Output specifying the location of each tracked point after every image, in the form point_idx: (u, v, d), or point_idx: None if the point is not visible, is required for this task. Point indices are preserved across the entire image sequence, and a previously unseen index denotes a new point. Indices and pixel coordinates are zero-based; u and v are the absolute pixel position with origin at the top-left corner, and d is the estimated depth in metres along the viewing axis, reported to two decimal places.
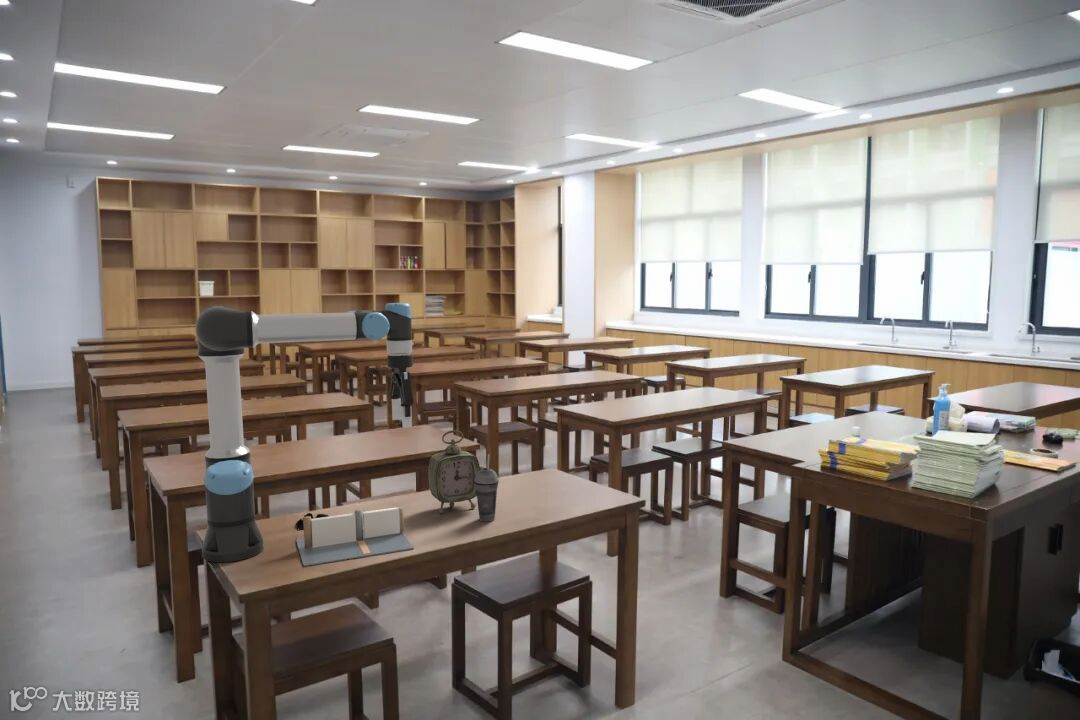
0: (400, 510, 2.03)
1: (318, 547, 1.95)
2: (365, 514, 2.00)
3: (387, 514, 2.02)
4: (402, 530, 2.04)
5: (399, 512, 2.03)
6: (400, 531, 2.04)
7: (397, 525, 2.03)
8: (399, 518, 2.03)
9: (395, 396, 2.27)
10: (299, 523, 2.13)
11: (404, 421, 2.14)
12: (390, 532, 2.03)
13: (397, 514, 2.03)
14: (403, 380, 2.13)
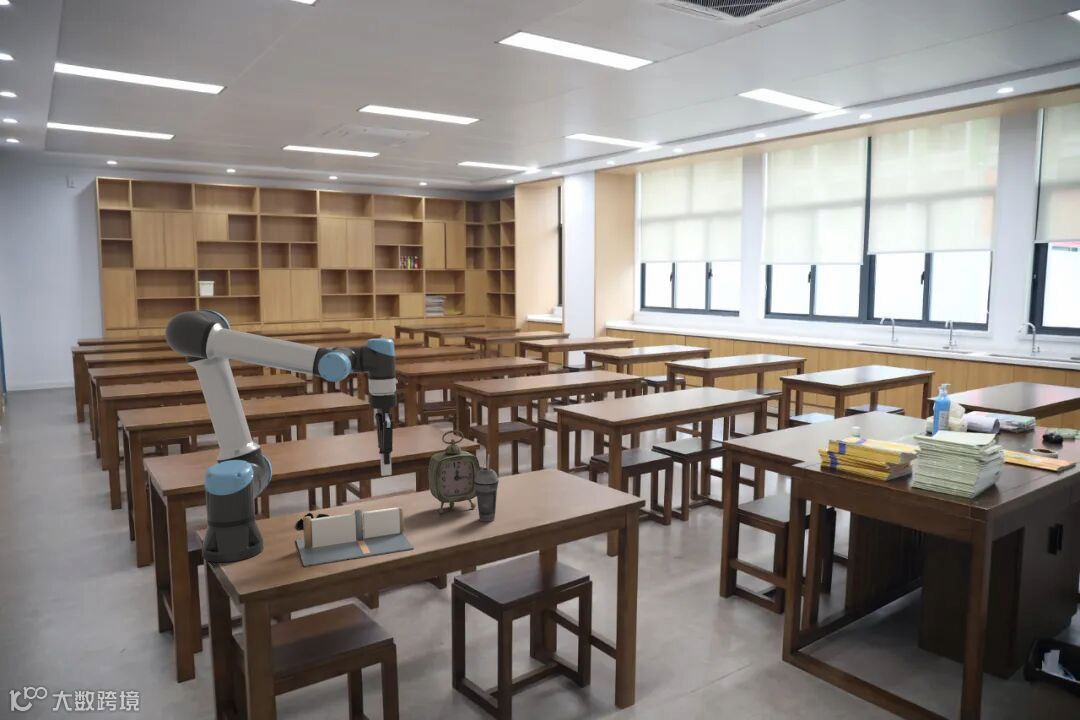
0: (400, 510, 2.03)
1: (318, 547, 1.95)
2: (365, 514, 2.00)
3: (387, 514, 2.02)
4: (402, 530, 2.04)
5: (399, 512, 2.03)
6: (400, 531, 2.04)
7: (397, 525, 2.03)
8: (399, 518, 2.03)
9: None
10: (299, 523, 2.13)
11: (383, 469, 2.07)
12: (390, 532, 2.03)
13: (397, 514, 2.03)
14: (385, 429, 2.01)
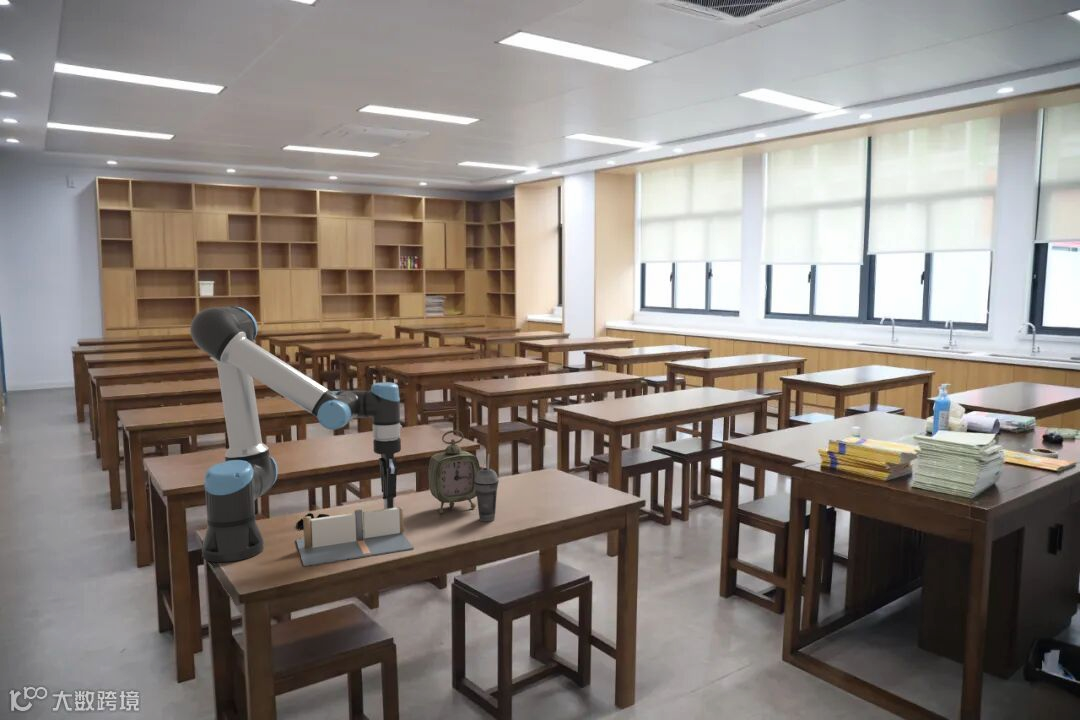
0: (400, 510, 2.03)
1: (318, 547, 1.95)
2: (365, 514, 2.00)
3: (387, 514, 2.02)
4: (402, 530, 2.04)
5: (399, 512, 2.03)
6: (400, 531, 2.04)
7: (397, 525, 2.03)
8: (399, 518, 2.03)
9: None
10: (300, 523, 2.13)
11: None
12: (390, 532, 2.03)
13: (397, 514, 2.03)
14: (389, 475, 1.99)
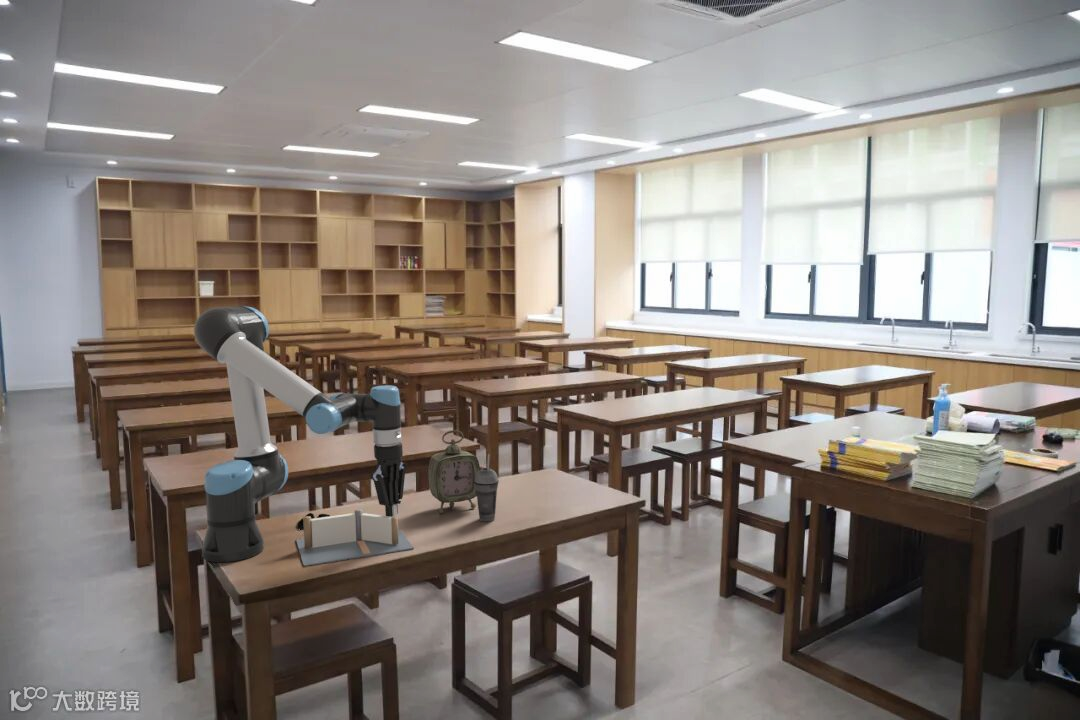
0: (392, 521, 1.95)
1: (318, 547, 1.95)
2: (362, 516, 1.98)
3: (380, 521, 1.96)
4: (394, 542, 1.95)
5: (391, 522, 1.95)
6: (392, 542, 1.95)
7: (389, 535, 1.95)
8: (391, 529, 1.95)
9: (392, 499, 1.99)
10: (300, 523, 2.13)
11: None
12: (383, 540, 1.96)
13: (389, 524, 1.95)
14: (375, 481, 1.93)
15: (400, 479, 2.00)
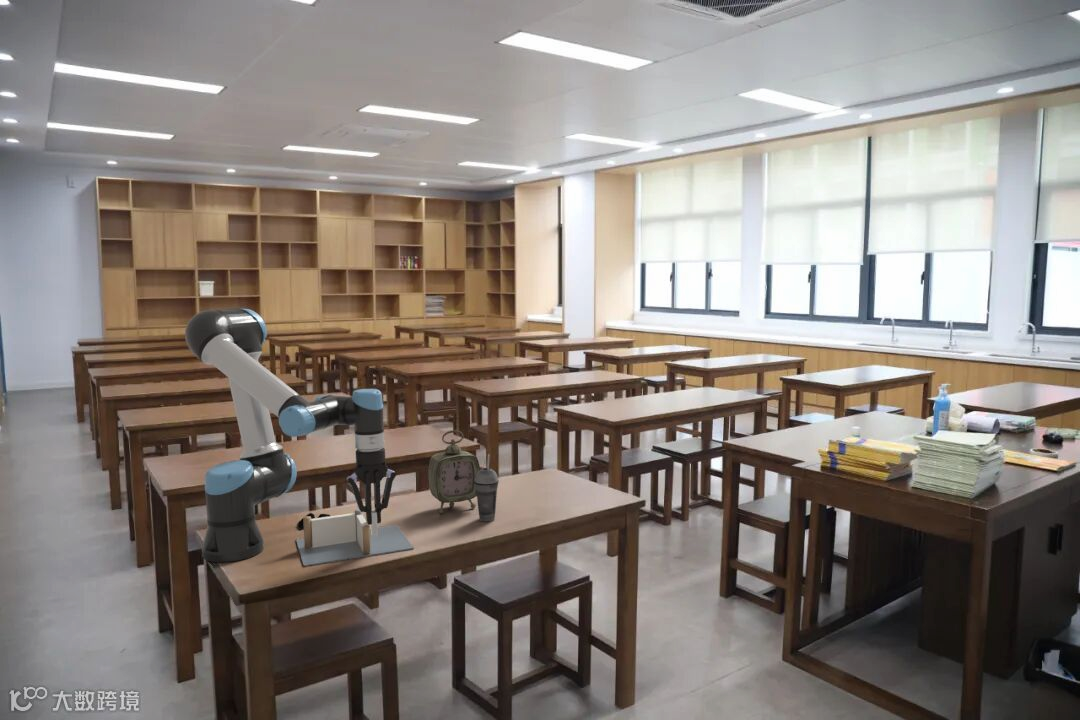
0: (362, 528, 1.89)
1: (318, 547, 1.95)
2: (356, 516, 1.98)
3: (360, 526, 1.92)
4: (364, 550, 1.89)
5: (362, 530, 1.89)
6: (363, 550, 1.90)
7: (362, 542, 1.90)
8: (362, 536, 1.89)
9: (376, 506, 1.92)
10: (300, 523, 2.13)
11: (371, 527, 1.93)
12: (361, 546, 1.92)
13: (362, 531, 1.90)
14: None
15: (386, 488, 1.92)
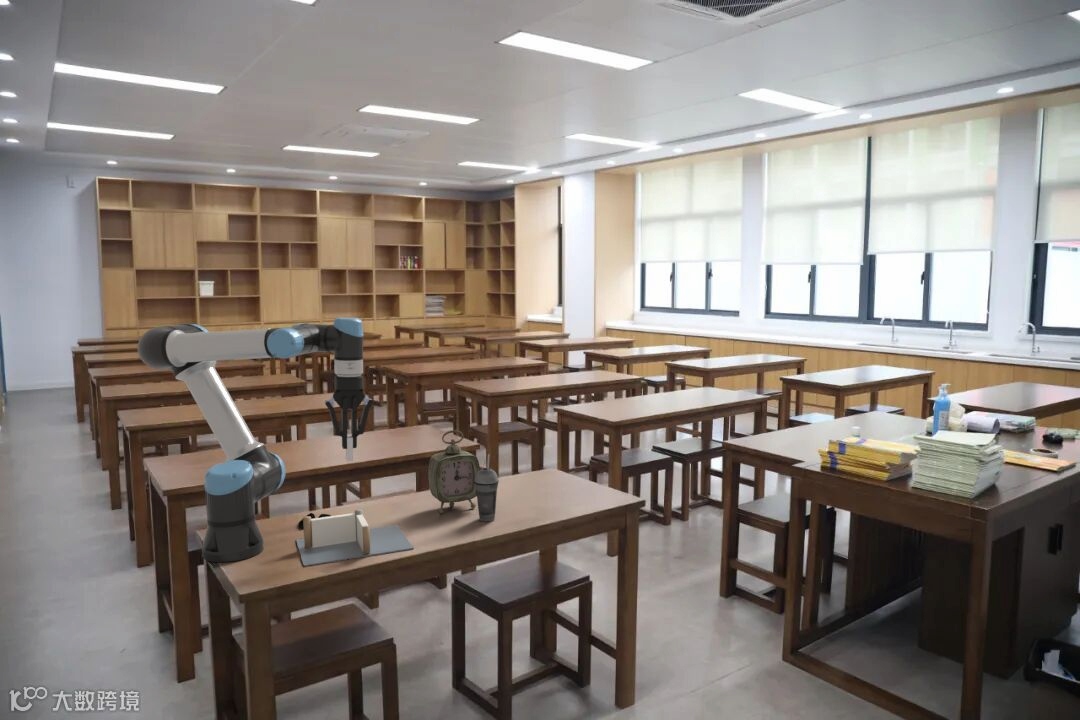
0: (362, 528, 1.89)
1: (318, 547, 1.95)
2: (356, 516, 1.98)
3: (360, 526, 1.92)
4: (363, 550, 1.89)
5: (362, 530, 1.89)
6: (363, 550, 1.90)
7: (362, 542, 1.90)
8: (362, 536, 1.89)
9: None
10: (301, 523, 2.13)
11: (346, 452, 2.00)
12: (361, 546, 1.92)
13: (362, 531, 1.90)
14: None
15: (363, 414, 1.99)
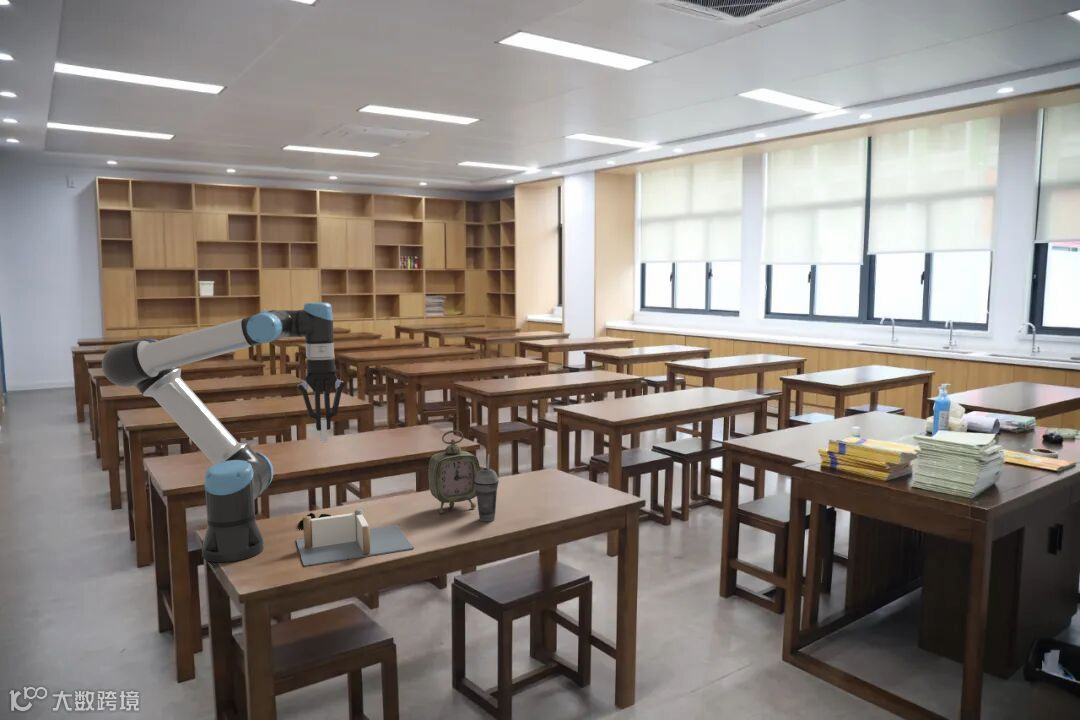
0: (362, 528, 1.89)
1: (318, 547, 1.95)
2: (356, 516, 1.98)
3: (360, 526, 1.92)
4: (363, 550, 1.89)
5: (362, 530, 1.89)
6: (363, 550, 1.90)
7: (362, 542, 1.90)
8: (362, 536, 1.89)
9: (326, 414, 2.04)
10: (301, 523, 2.13)
11: (320, 434, 2.05)
12: (361, 546, 1.92)
13: (362, 531, 1.90)
14: None
15: (335, 396, 2.04)
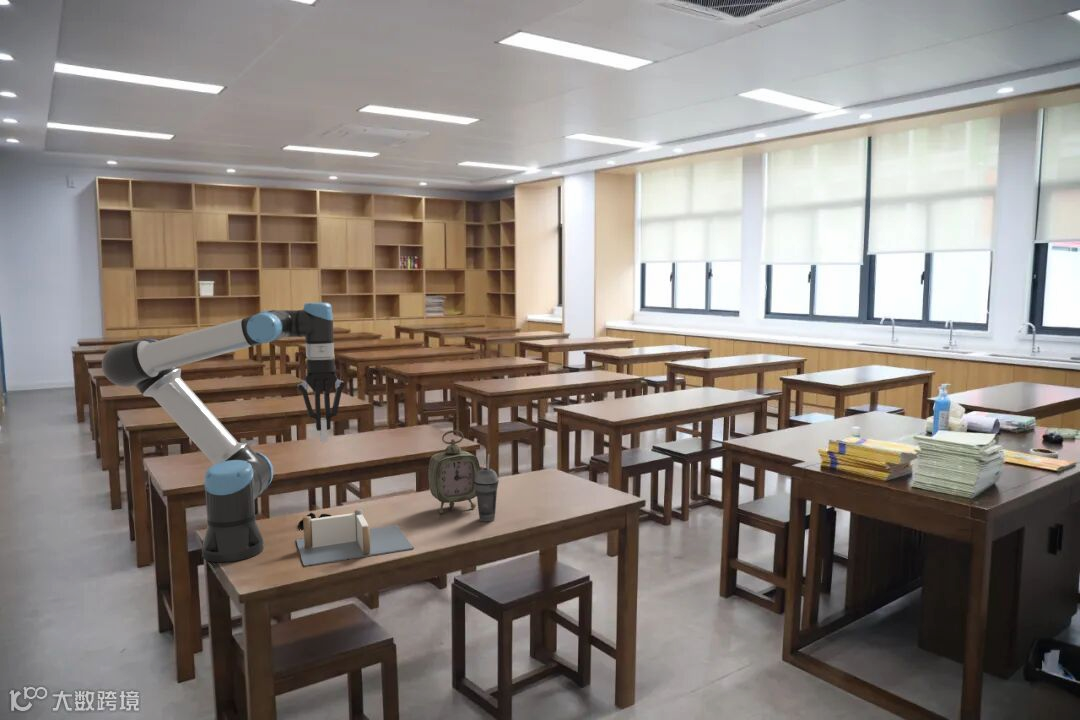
0: (362, 528, 1.89)
1: (318, 547, 1.95)
2: (356, 516, 1.98)
3: (360, 526, 1.92)
4: (363, 550, 1.89)
5: (362, 530, 1.89)
6: (363, 550, 1.90)
7: (362, 542, 1.90)
8: (362, 536, 1.89)
9: (326, 414, 2.04)
10: (301, 523, 2.13)
11: (320, 434, 2.05)
12: (361, 546, 1.92)
13: (362, 531, 1.90)
14: None
15: (335, 396, 2.04)
